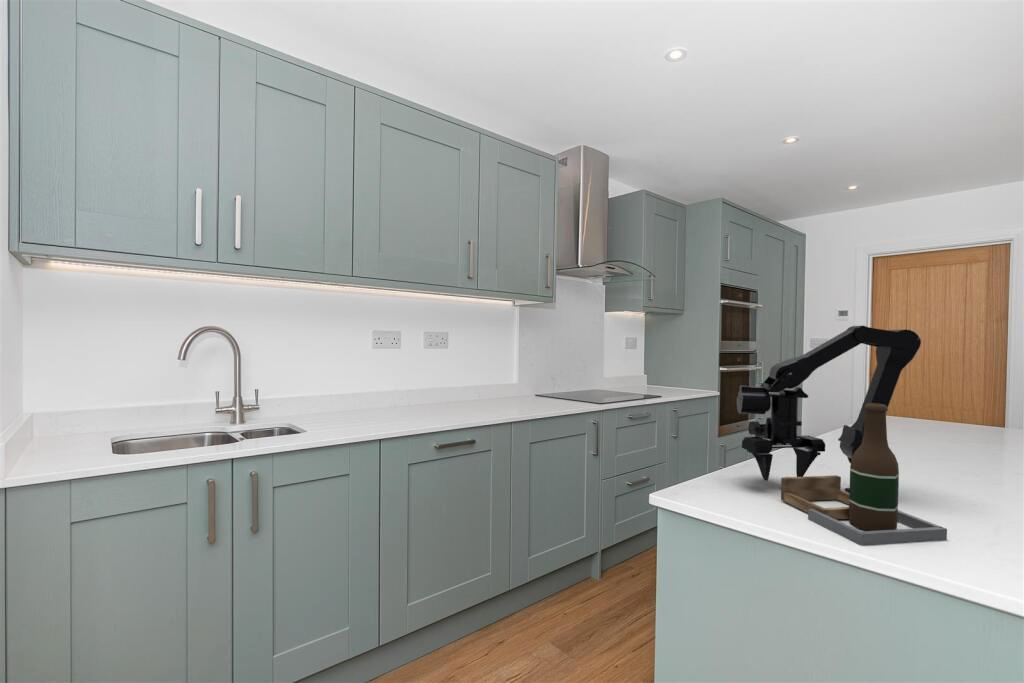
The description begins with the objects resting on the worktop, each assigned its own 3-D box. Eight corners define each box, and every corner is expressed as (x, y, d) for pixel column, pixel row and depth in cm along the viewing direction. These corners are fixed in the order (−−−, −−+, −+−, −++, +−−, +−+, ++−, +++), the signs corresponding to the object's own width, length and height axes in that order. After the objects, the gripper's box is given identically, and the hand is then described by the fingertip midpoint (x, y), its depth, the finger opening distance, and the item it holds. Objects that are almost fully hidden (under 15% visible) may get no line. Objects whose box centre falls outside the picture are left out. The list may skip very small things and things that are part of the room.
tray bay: (884, 514, 103) (885, 505, 103) (946, 539, 90) (947, 528, 90) (807, 518, 100) (808, 509, 100) (861, 545, 88) (861, 534, 87)
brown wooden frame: (836, 497, 113) (836, 475, 113) (883, 516, 101) (884, 492, 101) (780, 499, 110) (781, 477, 110) (823, 520, 99) (823, 495, 98)
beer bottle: (903, 538, 91) (907, 408, 90) (852, 530, 94) (856, 405, 94) (891, 523, 98) (894, 402, 97) (844, 517, 101) (847, 400, 101)
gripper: (793, 409, 129) (792, 469, 129) (728, 410, 126) (727, 471, 126) (828, 417, 118) (826, 482, 118) (758, 418, 115) (756, 484, 115)
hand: (782, 479), depth 120 cm, fingers open, 9 cm apart
